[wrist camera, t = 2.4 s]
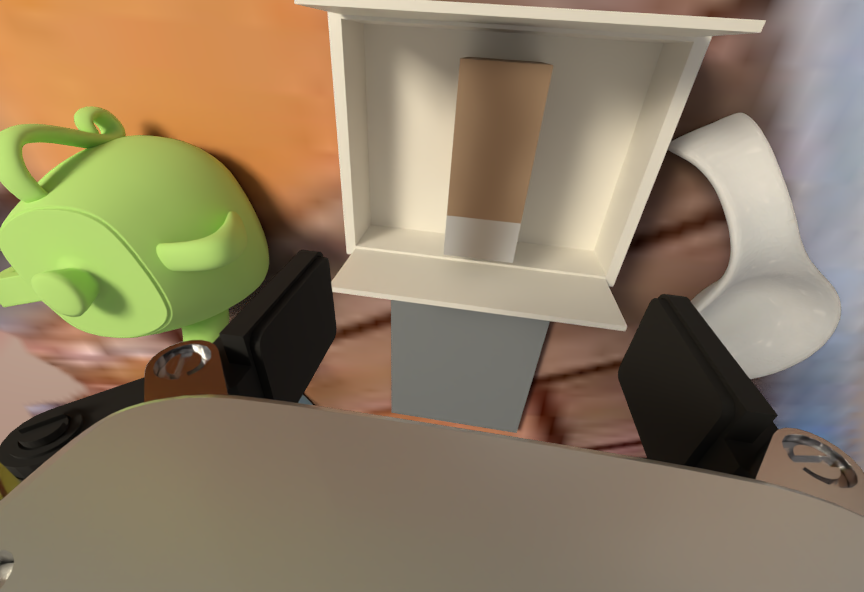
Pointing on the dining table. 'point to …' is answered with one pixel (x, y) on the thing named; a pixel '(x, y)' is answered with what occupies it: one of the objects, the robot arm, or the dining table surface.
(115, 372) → the dining table surface
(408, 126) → the carton
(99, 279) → the teapot
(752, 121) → the spoon rest
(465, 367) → the rubber mat
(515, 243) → the capped box
